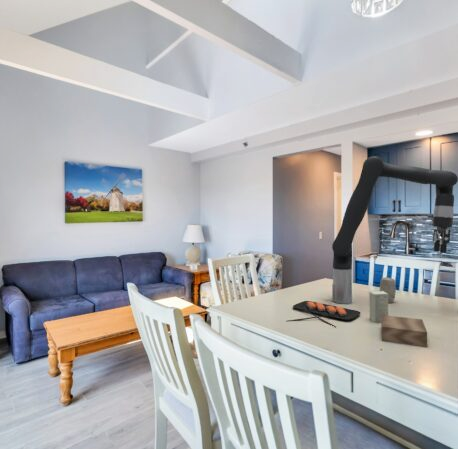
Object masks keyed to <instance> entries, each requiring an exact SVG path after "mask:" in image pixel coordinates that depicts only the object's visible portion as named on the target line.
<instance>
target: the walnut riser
mask: <svg viewBox="0 0 458 449" xmlns="http://www.w3.org/2000/svg"><path fill="white" fill-rule="evenodd" d="M380 324H381V326H380V327H381V341H386V342H392V343H398V344H399V343H400V344H405V345H413V346H420V347H428V331H427V328H426V325H425V323H424V321H423V318H422V319H421V318H415V317H413V318H412V317H404V316H403V317H402V316H396V315H395V316H394V315H388V316H387V315H381V322H380Z"/></svg>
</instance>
